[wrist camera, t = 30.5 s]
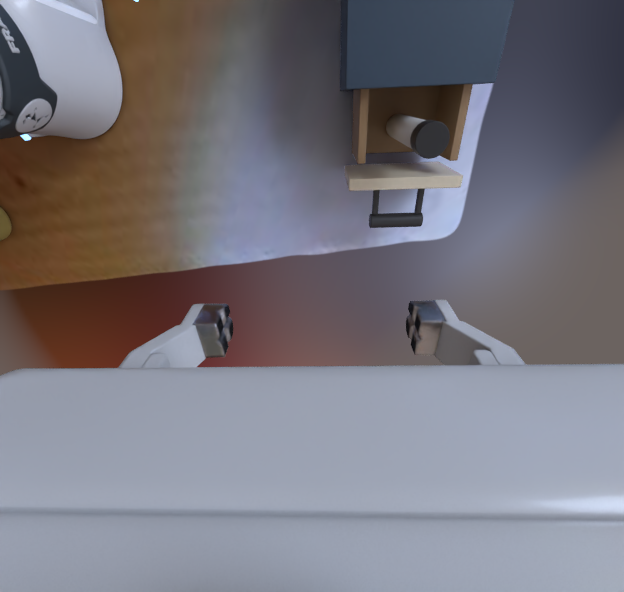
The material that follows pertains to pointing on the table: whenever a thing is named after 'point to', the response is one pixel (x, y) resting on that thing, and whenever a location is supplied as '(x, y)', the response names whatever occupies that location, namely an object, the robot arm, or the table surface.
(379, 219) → the drawer
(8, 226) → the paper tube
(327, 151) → the table surface
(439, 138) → the marker
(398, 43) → the cabinet
